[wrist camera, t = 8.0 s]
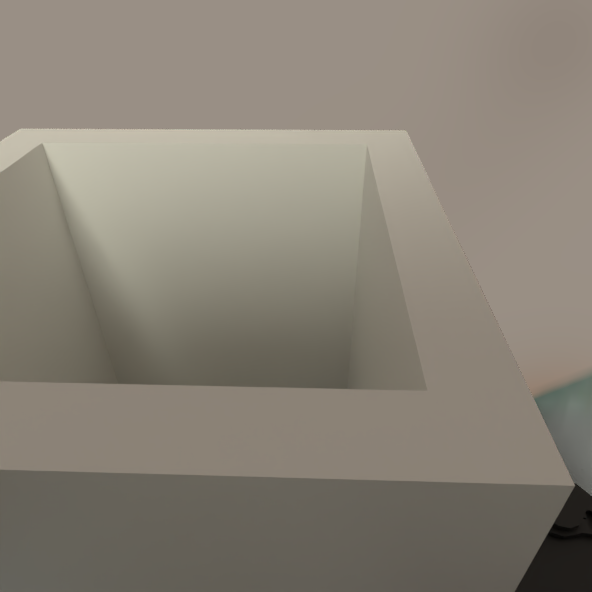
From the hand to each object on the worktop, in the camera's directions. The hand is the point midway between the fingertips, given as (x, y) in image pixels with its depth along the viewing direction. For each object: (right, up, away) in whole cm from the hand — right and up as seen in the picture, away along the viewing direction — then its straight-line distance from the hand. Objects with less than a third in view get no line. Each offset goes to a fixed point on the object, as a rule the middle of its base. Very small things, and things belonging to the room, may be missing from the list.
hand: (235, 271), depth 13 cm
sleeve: (0, -8, 0) cm, 8 cm away
